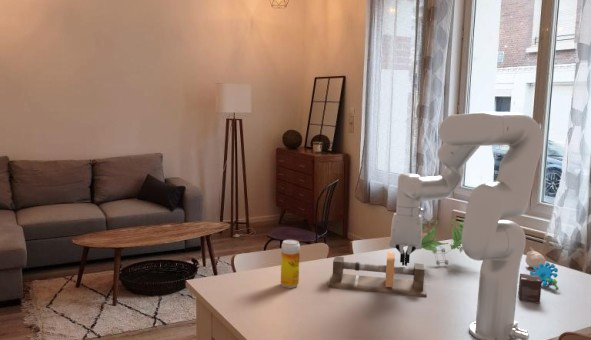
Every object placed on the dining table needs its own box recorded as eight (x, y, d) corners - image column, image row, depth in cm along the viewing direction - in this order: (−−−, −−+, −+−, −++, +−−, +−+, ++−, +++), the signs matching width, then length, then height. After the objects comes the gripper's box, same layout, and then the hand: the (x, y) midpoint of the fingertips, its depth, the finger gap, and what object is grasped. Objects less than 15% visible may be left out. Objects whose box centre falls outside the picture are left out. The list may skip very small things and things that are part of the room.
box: (537, 297, 164) (540, 275, 163) (540, 304, 159) (542, 281, 158) (517, 294, 166) (519, 273, 165) (519, 300, 161) (521, 278, 160)
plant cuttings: (389, 278, 197) (412, 259, 179) (381, 237, 206) (402, 215, 187) (468, 273, 206) (498, 255, 187) (457, 234, 214) (484, 213, 195)
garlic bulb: (540, 266, 196) (542, 246, 195) (546, 271, 190) (549, 251, 189) (523, 265, 197) (524, 245, 196) (528, 270, 191) (530, 250, 190)
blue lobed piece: (522, 275, 180) (544, 256, 180) (531, 285, 182) (552, 267, 181) (541, 290, 170) (564, 271, 169) (550, 301, 172) (572, 282, 171)
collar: (393, 278, 173) (394, 253, 172) (392, 287, 165) (394, 261, 163) (385, 277, 174) (387, 252, 173) (385, 286, 165) (386, 260, 164)
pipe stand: (424, 283, 173) (426, 261, 172) (426, 296, 161) (428, 273, 160) (332, 275, 179) (333, 253, 178) (328, 286, 167) (329, 263, 166)
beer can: (296, 289, 164) (298, 245, 162) (278, 287, 166) (279, 243, 164) (300, 282, 170) (301, 240, 168) (282, 281, 171) (284, 238, 169)
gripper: (430, 210, 167) (426, 263, 170) (385, 207, 170) (382, 259, 173) (431, 215, 160) (428, 270, 162) (384, 211, 163) (381, 266, 165)
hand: (404, 264), depth 167 cm, fingers closed
